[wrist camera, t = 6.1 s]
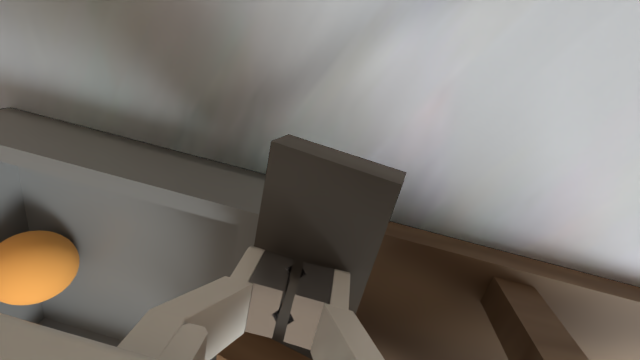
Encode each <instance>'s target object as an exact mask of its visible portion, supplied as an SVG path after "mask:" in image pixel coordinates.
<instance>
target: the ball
mask: <svg viewBox="0 0 640 360" xmlns="http://www.w3.org/2000/svg"><path fill="white" fill-rule="evenodd" d="M78 268H79V254H78V251H77V249H76V247H75V246H74V244H73V243H72V242H71V241H70V240H69V239H67V238H66V237H64V236H63V235H60V234H58V233H55V232H51V231H41V230H37V231H28V232H23V233H19V234H17V235H14V236H11V237H9V238H7V239H5V240H4V241H2V242H1V243H0V302H3V303H6V304H11V305H31V304H36V303H40V302H43V301H46V300H48V299H50V298H52V297H54V296H56V295H58V294H59V293H61V292H62V291H63V290H64V289H66V288H67V287H68V286H69V284H70V283H71V282H72V281H73V279H74V278H75V276H76V274H77V272H78Z"/></svg>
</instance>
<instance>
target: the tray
mask: <svg viewBox="0 0 640 360" xmlns="http://www.w3.org/2000/svg"><path fill="white" fill-rule="evenodd" d="M265 177H266V174H262V173H258V172H254V171H250V170H247V169H243V168H239V167H235V166H231V165H228V164H224V163H220V162H216V161H212V160H209V159H205V158H201V157H197V156H193V155H190V154H186V153H182V152H178V151H174V150H170V149H167V148H163V147H159V146H155V145H151V144H148V143H144V142H140V141H136V140H132V139H129V138H125V137H121V136H117V135H113V134H109V133H106V132H102V131H98V130H94V129H90V128H87V127H83V126H79V125H75V124H71V123H68V122H64V121H60V120H56V119H52V118H49V117H45V116H41V115H37V114H33V113H29V112H26V111H22V110H18V109H14V108H3V109H0V243H1V242H2V241H4V240H5V239H7V238H9V237H11V236H14V235H17V234H19V233H23V232H28V231H37V230H41V231H51V232H55V233H58V234H60V235H63V236H64V237H66V238H67V239H69V240H70V241H71V242H72V243H73V244H74V246H75V247H76V249H77V251H78V254H79V268H78V272H77V274H76V276H75V278H74V279H73V281H72V282H71V283H70V284H69V286H68V287H67V288H66V289H64V290H63V291H62V292H61V293H59V294H58V295H56V296H54V297H52V298H50V299H48V300H46V301H43V302H40V303H36V304H31V305H11V304H6V303H3V302H0V313H1V314H4V315H8V316H11V317H15V318H18V319H22V320H25V321H29V322H32V323H35V324H39V325H42V326H46V327H49V328H53V329H56V330H60V331H63V332H67V333H70V334H73V335H77V336H80V337H84V338H87V339H91V340H94V341H98V342H101V343H105V344H108V345H111V346H115V347H117V346H118V345H119V344H120V343H121V342H122V340H123V339H124V338H125V337H126V336H127V335H128V334H129V332H130V331H131V330H132V329H133V328H134V327H135V326H136V324H137V323H138V322H139V321H140V320H141V319H142V317H143V316H144V315H145V314H146V313H147V312H148V311H149V310H150V309H152V308H154V307H156V306H159V305H161V304H163V303H165V302H168V301H170V300H172V299H175V298H177V297H179V296H181V295H184V294H186V293H188V292H190V291H193V290H195V289H197V288H199V287H202V286H204V285H206V284H208V283H211V282H213V281H215V280H217V279H220V278H222V277H224V276H227V277H230V276H231V274H232V273H233V271H234V270H235V268H236V266H237V265H238V263H239V262H240V260H241V258H242V257H243V255H244V254H245V252H246V250H247V249H248V248H249V247H250V246H253V247H254V243H255V237H256V231H257V225H258V219H259V213H260V207H261V201H262V195H263V189H264V183H265ZM216 356H217V355H216ZM216 356H214V357H213V358H212V359H210V360H216Z"/></svg>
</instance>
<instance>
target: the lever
mask: <svg viewBox="0 0 640 360" xmlns="http://www.w3.org/2000/svg"><path fill="white" fill-rule="evenodd" d="M405 175H406V172H403V171H400V170H397V169H394V168H391V167H388V166H385V165H381V164H378V163H375V162H372V161H369V160H366V159H363V158H360V157H357V156H354V155H351V154H348V153H345V152H341V151H338V150H335V149H332V148H329V147H326V146H323V145H320V144H317V143H314V142H311V141H308V140H304V139H301V138H298V137H295V136H292V135H289V134H288V135H286V136H283V137H281V138H278V139H275V140H273V141H271V146H270V152H269V158H268V164H267V170H266V177H265V183H264V189H263V195H262V201H261V207H260V213H259V219H258V225H257V231H256V237H255V243H254V247H257V248H260V249H264V250H268V251H271V252H275V253H278V254H281V255H285V256H288V257H291V258H295V260H294V265H293V269H292V272H291V275H290V278H289V279H290V282H289V286H288V290H287V294H286V297H285V301H284V304H283V307H282V309H281V311H280V315H279V319H278V322H277V325H276V328H275V331H274V334H273V337H272V338H269V337H265V336H261V335H257V334H253V333H249V332H245V331H244V334H242V335H241V336H240V337H239V338H237V339H236V340H235V341H233V342H232V343H231V344H230V345H228V346H227V347H226V348H224V349H223V350H222V351H221V352H219V353H218V354H217V356H216V360H313V358H312V355H311V352H310V351H311V350H308V349H305V348H302V347H299V346H296V345H293V344H289V343H286V342H283V341H284V336H285V332H286V328H287V324H288V320H289V317H290V312H291V308H292V304H293V300H294V296H295V293H296V289H297V285H298V282H299V278H300V276H301V272H302V268H303V265H304V262H309V263H312V264H316V265H320V266H324V267H327V268H331V269H337V270H342V271H346V272H349V273H350V292H349V310H350V311H353V312H354V313H355V315H356V312H357V309H358V306H359V304H360V301H361V298H362V295H363V293H364V290H365V287H366V284H367V281H368V279H369V276H370V273H371V270H372V268H373V265H374V262H375V259H376V257H377V254H378V251H379V248H380V245H381V243H382V240H383V237H384V234H385V232H386V229H387V226H388V223H389V221H390V218H391V215H392V212H393V209H394V207H395V204H396V201H397V198H398V196H399V193H400V190H401V187H402V184H403V181H404V178H405Z"/></svg>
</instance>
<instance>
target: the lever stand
mask: <svg viewBox="0 0 640 360" xmlns="http://www.w3.org/2000/svg"><path fill="white" fill-rule="evenodd" d="M356 316H357V318H358V319H359V321H360V323H361V324H362V326H363V327H364V329H365V330H366V332H367V333H368V335H369V336H370V338H371V339H372V341H373V342H374V344H375V345H376V347H377V349H378V350H379V352H380V353H381V355H382V356H383V358H384V359H385V360H640V287H636V286H633V285H629V284H625V283H621V282H618V281H614V280H610V279H606V278H602V277H599V276H595V275H591V274H587V273H583V272H580V271H576V270H572V269H568V268H565V267H561V266H557V265H553V264H549V263H546V262H542V261H538V260H534V259H531V258H527V257H523V256H519V255H515V254H512V253H508V252H504V251H500V250H496V249H493V248H489V247H485V246H481V245H478V244H474V243H470V242H466V241H462V240H459V239H455V238H451V237H447V236H444V235H440V234H436V233H432V232H428V231H425V230H421V229H417V228H413V227H410V226H406V225H402V224H398V223H394V222H391V221H389V223H388V226H387V229H386V232H385V234H384V237H383V240H382V243H381V245H380V248H379V251H378V254H377V257H376V259H375V262H374V265H373V268H372V270H371V273H370V276H369V279H368V281H367V284H366V287H365V290H364V293H363V295H362V298H361V301H360V304H359V306H358V309H357V312H356Z"/></svg>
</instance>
